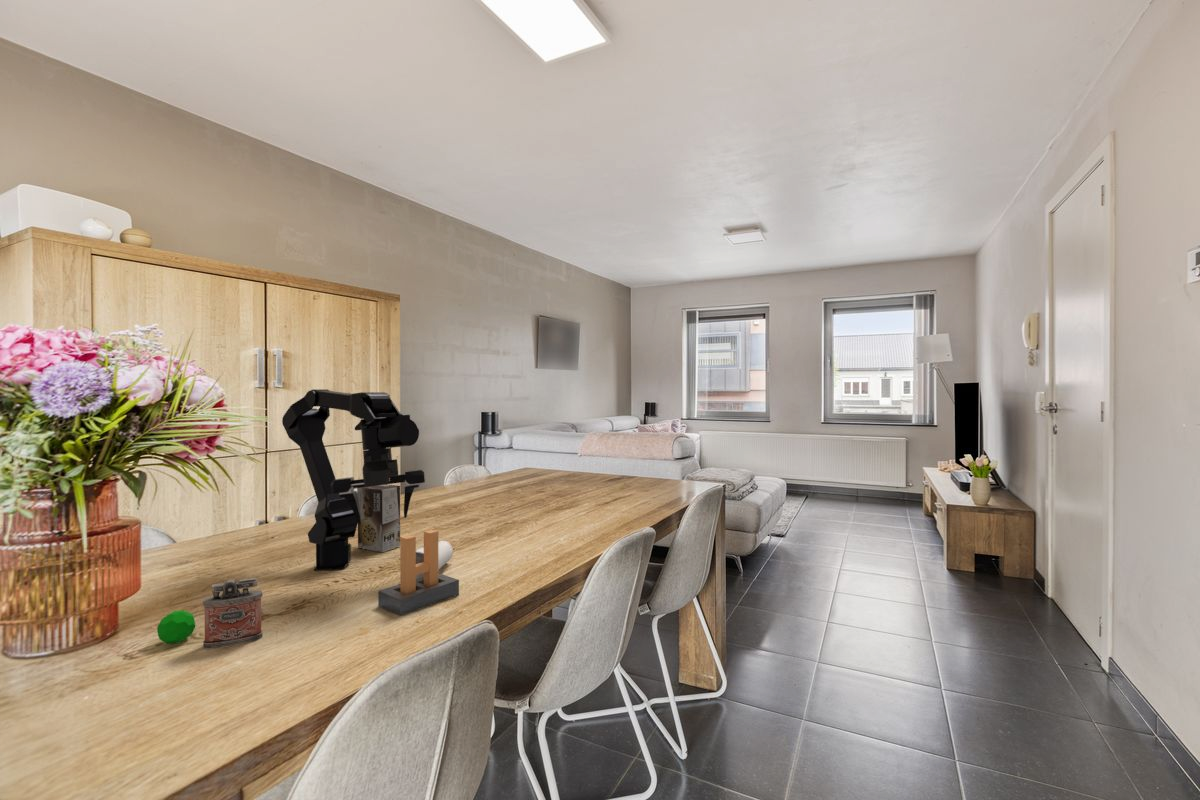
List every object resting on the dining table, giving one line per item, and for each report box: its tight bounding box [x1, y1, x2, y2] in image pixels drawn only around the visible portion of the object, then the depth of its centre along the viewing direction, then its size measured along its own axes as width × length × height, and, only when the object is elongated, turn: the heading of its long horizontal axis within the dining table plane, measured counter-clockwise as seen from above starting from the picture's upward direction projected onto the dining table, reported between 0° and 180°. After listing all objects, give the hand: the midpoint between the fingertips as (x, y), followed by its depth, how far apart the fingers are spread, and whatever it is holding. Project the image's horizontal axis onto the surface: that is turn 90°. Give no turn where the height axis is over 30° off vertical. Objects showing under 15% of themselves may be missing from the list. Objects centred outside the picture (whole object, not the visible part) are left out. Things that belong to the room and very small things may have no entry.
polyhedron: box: [156, 610, 196, 645], centre depth 89 cm, size 5×5×5 cm
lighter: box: [202, 577, 264, 650], centre depth 89 cm, size 8×3×10 cm, turn 117°
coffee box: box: [356, 484, 401, 553], centre depth 143 cm, size 9×6×16 cm
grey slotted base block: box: [377, 572, 460, 617], centre depth 107 cm, size 13×7×3 cm, turn 143°
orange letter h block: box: [399, 529, 439, 594], centre depth 107 cm, size 7×2×13 cm, turn 143°
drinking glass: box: [416, 540, 454, 579], centre depth 123 cm, size 7×7×15 cm
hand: (383, 520), depth 119 cm, fingers open, 9 cm apart
